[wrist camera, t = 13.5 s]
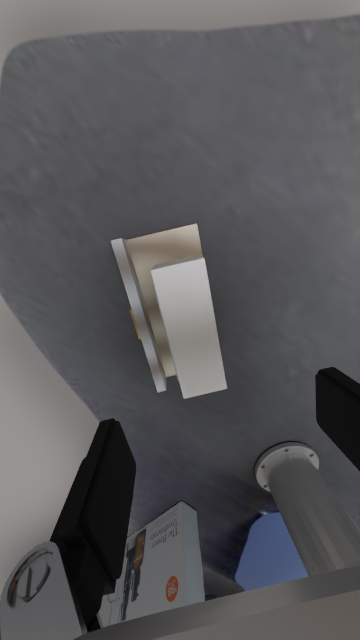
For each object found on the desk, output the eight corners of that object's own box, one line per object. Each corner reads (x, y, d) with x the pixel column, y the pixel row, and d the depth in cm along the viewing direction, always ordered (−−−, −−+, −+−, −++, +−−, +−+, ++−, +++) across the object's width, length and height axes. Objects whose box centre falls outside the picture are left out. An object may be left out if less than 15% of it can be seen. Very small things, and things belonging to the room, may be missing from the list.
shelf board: (219, 359, 33) (228, 375, 28) (156, 374, 33) (154, 393, 28) (195, 224, 27) (201, 219, 22) (116, 243, 27) (106, 241, 22)
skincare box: (179, 497, 42) (188, 633, 27) (197, 509, 44) (214, 644, 29) (109, 547, 45) (81, 694, 30) (127, 557, 47) (109, 701, 32)
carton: (189, 256, 26) (204, 257, 17) (207, 346, 30) (227, 388, 21) (153, 264, 26) (148, 270, 17) (176, 353, 30) (181, 399, 21)
